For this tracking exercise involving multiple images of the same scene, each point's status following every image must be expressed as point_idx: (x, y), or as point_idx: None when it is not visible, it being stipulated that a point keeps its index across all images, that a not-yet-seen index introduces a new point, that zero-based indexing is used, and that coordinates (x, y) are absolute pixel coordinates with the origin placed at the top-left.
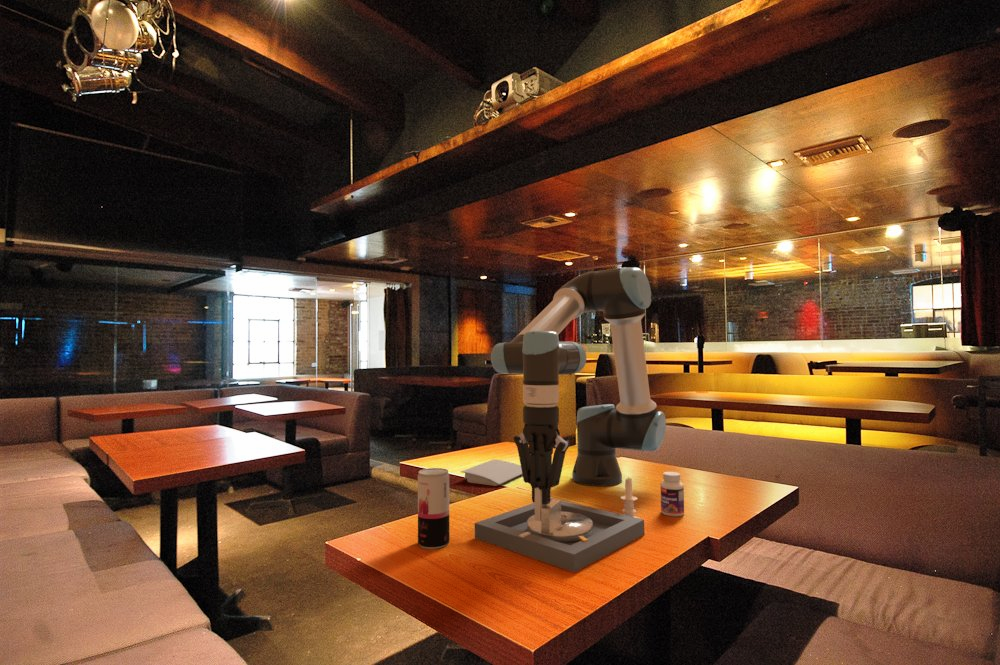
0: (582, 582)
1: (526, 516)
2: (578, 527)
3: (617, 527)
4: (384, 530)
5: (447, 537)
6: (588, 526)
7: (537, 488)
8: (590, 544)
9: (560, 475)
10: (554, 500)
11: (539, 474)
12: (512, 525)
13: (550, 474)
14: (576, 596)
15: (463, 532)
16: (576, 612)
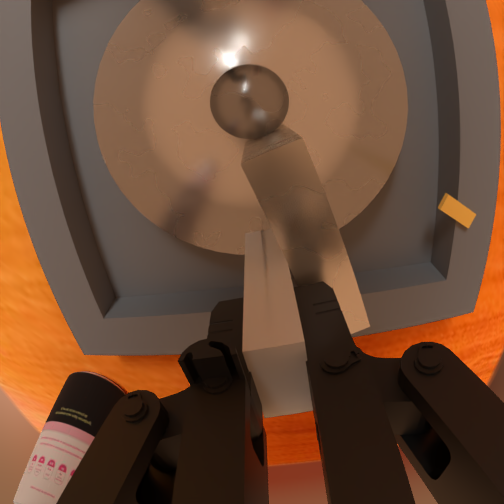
0: (477, 303)
1: (56, 134)
2: (374, 107)
3: (466, 12)
4: (12, 391)
5: (117, 400)
6: (394, 65)
7: (283, 410)
8: (486, 227)
9: (501, 404)
10: (273, 180)
11: (256, 474)
12: (85, 214)
13: (438, 488)
14: (480, 342)
15: (52, 317)
16: (489, 365)
